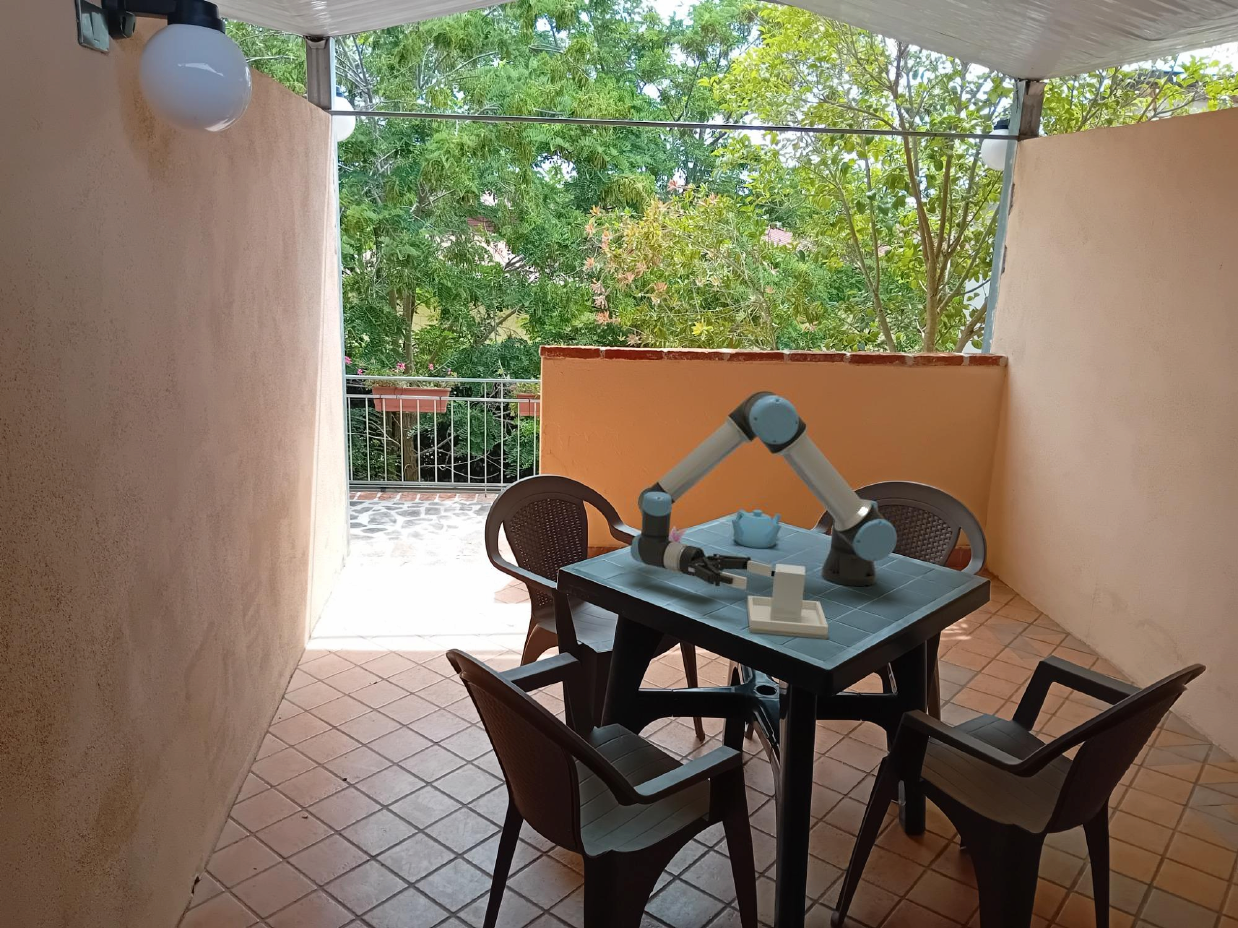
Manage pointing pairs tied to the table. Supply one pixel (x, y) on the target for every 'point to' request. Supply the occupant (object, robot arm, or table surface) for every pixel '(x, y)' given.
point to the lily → (676, 534)
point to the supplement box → (787, 593)
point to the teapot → (756, 529)
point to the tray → (809, 624)
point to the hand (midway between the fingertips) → (758, 577)
